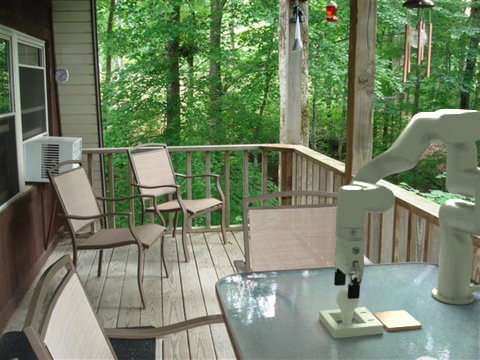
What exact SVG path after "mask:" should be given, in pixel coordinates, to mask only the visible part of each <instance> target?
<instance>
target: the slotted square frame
mask: <svg viewBox="0 0 480 360" xmlns="http://www.w3.org/2000/svg"><path fill="white" fill-rule="evenodd" d="M318 312H319V313H318V319H319V321H320V322H321V323H322V325H323V326H324V328H325V329H326V330H327V331H328V332H329V334H330V335H331V336H332V337H333V339H339V338H350V337H351V338H352V337H361V336H372V335H373V336H375V335H382V334H384V327H383V324H382V323H381V322H380V321H379V320H378V319H377V318H376V317H375V316H374V315H373V314H372V313H373V312H370V311H369V309H368V308H366V306H361V307H356V309H355V310H354V313H353V318H352V320H355V322H356V323H351V325H343V324H341V325H339V324H338V323H337V321H338V322H339V321H342V317H341V310H340V308H337V309H325V310H319V311H318Z"/></svg>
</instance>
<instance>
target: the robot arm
mask: <svg viewBox="0 0 480 360" xmlns="http://www.w3.org/2000/svg"><path fill="white" fill-rule="evenodd" d="M479 140H480V110H472V109H471V110H470V109H469V110H468V109H449V108H448V109H447V108H445V109H443V108H442V109H438V110H436V111H435V112H434V111H433V112H430V111H429V112H425V111H424V112H418V113H417V114H415V115H413V116H412V118H411V119H410V120H409V122H408V123H407V124H406V126H405V127H404V128H403V129H402V131H401V132H400V134H399V135H398V137H397V138H396V139H395V140H394V142H393V143H392V144H391V146H390V147H389V148H388V149H387V150H386V151H384V152H382V153H380V154H378V155H377V156H375V157H374V158H373V159H371V160H369V161H367V162H366V163H365V164H363V166H362V167H360V168H359V169H358V171H357V172H356V173H355V175H354V176H353V178H352V179H351V180H350V182H349V183H348V185H342V186H340V187H338V189H337V195H336V196H337V197H336V216H335V219H336V220H335V237H336V240H335V250H334V255H333V256H334V281H333V285H334V286H335V287H338V286H341V287H342V286H346V281H347V279H346V278H348V282H349V283H348V284H347V288H348V296H347V297H348V299H358V298H359V299H360V296H361V295H360V294H361V284H362V281H363V275H364V271H365V248H364V240H363V239H364V237H365V235H364V233H365V217H366V213H371V214H373V213H374V214H383V213H386V212H388V211H390V210H391V209H392V208H394V207H393V206H394V205H395V201H396V197H395V194H394V191H393V190H391V189H390V188H389V187H387V186H385V185H383V184H382V185H380V184H377V183H378V182H380V181H381V180H382V179H384V178H386V177H388V176H391V175H394V174H398V173H402V172H405V171H409V170H411V169H413V168H414V167H416V165H417V164H418V162H419V161H420V160H421V158H422V157H423V155H425V153H426V152H427V150H428V148H429V147H430V146H431V145H432V144H438V145H444V146H445V150H446V164H445V165H446V166H445V168H446V169H445V189H446V190H447V192H448V193H449V194H451V195H453V196H457V197H462V198H466V199H471V200H473V201H474V202H472V201H468V200H463V199H457V198H451V199H447V200H445V201H444V202H443V203H442V204H441V205H440V207H439V208H438V209H439V210H438V224H439V230H440V233H439V235H440V238H439V252H438V253H439V255H438V271H437V285H436V287H434V288H433V289H432V290H431V296H432V297H433V298H434V299H436V300H437V301H439V302H443V303H446V304H449V305H451V304H452V305H456V306H457V305H461V306H462V305H463V306H464V305H469V304H472V303H473V302H474V301H475V295H474V294H473V293H476V292H480V284H476V285H475V283H474V282H472V283H471V276H472V275H471V273H472V264H473V262H472V261H473V251H474V243H473V239H472V237H471V236H475V237H478V238H480V167H478V148H477V144H476V142H478V141H479Z"/></svg>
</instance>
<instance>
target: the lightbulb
mask: <svg viewBox="0 0 480 360" xmlns="http://www.w3.org/2000/svg"><path fill="white" fill-rule="evenodd" d="M336 295H337V296H336V297H335V298H336V304H337V305H338V309H340V310H341V317H342V320H341V322H342V323H341V325H351V324H353V323H352V321H353V319H352V318H353V313H354V310H355V309H356V308H358V305H359V303H360V297H359V298H358V299H348V297H347V296H348V287H347V288H342V289H341V290H339V292H338V293H337V294H336Z"/></svg>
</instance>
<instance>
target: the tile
mask: <svg viewBox="0 0 480 360" xmlns="http://www.w3.org/2000/svg"><path fill="white" fill-rule="evenodd" d="M371 313H372V314H373V315H374V316H375V317H376V318H377V319H378V320H379V321H380V322H381V323H382V324H383V329H385V330H386V331H387V332H395V331H405V330H407V331H408V330H417V329H422V328H423V324H421V322H420V321H418V320H417V319H416V318H415V317H413V316H412V315H411V314H410V313H408V312H407V311H406V310H404V309H399V310H388V311H387V310H386V311H378V312H371Z"/></svg>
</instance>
